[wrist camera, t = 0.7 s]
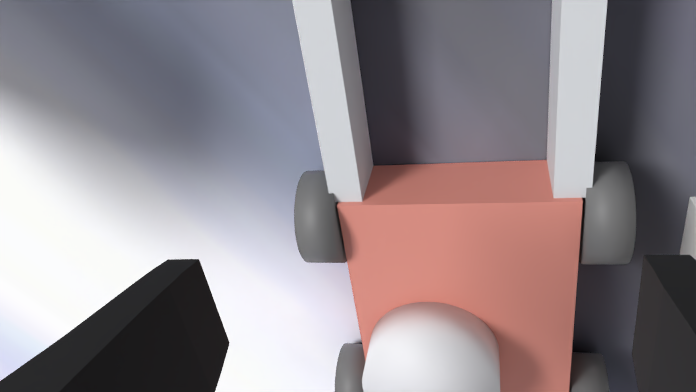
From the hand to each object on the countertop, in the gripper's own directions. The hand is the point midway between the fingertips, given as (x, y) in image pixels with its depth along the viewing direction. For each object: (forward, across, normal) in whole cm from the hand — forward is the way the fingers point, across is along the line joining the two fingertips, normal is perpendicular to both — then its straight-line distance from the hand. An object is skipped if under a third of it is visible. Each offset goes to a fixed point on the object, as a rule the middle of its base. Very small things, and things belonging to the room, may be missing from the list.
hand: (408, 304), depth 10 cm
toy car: (+10, 0, +4) cm, 11 cm away
